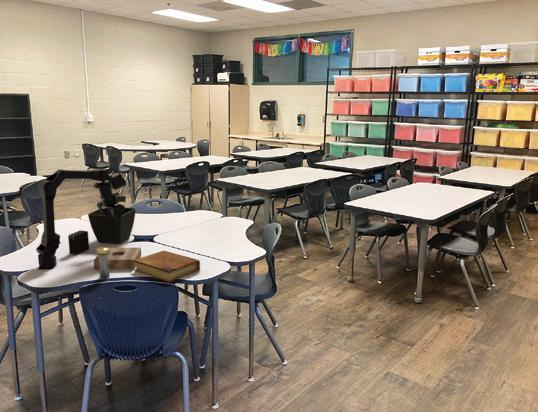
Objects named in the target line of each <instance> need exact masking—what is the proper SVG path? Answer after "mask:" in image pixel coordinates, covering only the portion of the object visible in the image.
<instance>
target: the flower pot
mask: <svg viewBox="0 0 538 412" xmlns="http://www.w3.org/2000/svg"><path fill="white" fill-rule="evenodd" d="M136 211H137V208H135V207H125V210H124V211H123V212H122V215H121V224H119V223H118V222H117V221H116V219H115V218H114V217H113V215H112V214H111V215H112V220H111V221H110V220H109V219H108V218H107V217H106V216H105V215H104V214H103V213H102V212H101V211H100V210H99V209H98V208H97V209H96V210H95V211H92V212H90V213H88V214H87V216H88V221H89V224H90V226H91V230H92V232H93V235H94V236H95V239H96V241H97V242H98V243H99V244H109V245H110V244H112V245H120V244H122V243H124V242H126V241H127V240H129V239H130V238H131V235H132V231H133V228H134V224H135V217H136Z"/></svg>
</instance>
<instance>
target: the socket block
mask: <svg viewBox="0 0 538 412" xmlns="http://www.w3.org/2000/svg"><path fill="white" fill-rule="evenodd" d="M109 250H110V252H109V253H108V258H109V270H135V269H136V262H134V260H135V259H139V258H142V247H109ZM93 270H95V271H96V270H99V256H98V254H97V255H96V256H95V258H94V259H93Z"/></svg>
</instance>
